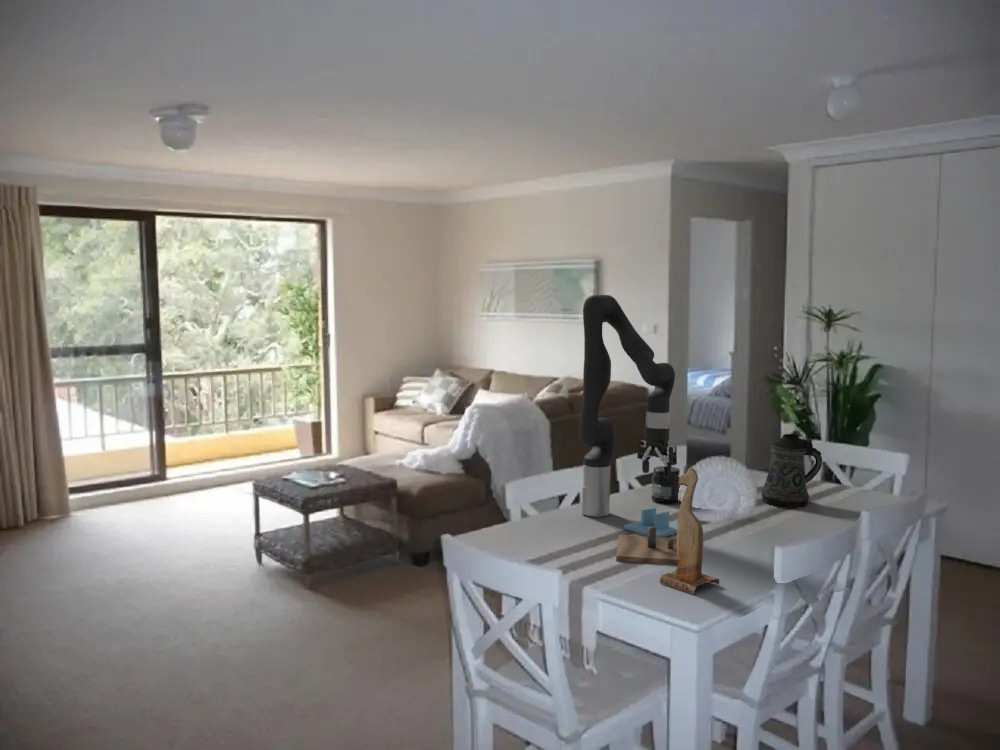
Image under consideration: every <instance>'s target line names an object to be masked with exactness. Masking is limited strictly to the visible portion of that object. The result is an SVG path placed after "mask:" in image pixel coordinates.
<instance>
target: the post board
mask: <svg viewBox="0 0 1000 750" xmlns="http://www.w3.org/2000/svg"><path fill="white" fill-rule="evenodd" d="M617 540H618V541H617V547H616V555H615V557H616V558H615V561H616V562H629V563H646V564H657V565H659V564H660V565H673V566H674V565H675V566H678V564H679V559H678V556H677V537H676V538H675V537H663V538H661V537H656V527H654V526H649V527H648V536H645V535H644V536H643V535H642V536H641V535H624V534H623V535H622V534H619V535H618V539H617Z"/></svg>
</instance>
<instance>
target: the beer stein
mask: <svg viewBox="0 0 1000 750" xmlns="http://www.w3.org/2000/svg"><path fill="white" fill-rule="evenodd" d="M799 436H800V435H798V434H793V433H792V434H791V433H790V434H789V433H784V434H783V435H782V437H780V439H778V440H777V441H774V442H773V443H772V444H771V445H770V451H771V458H770V462H769V467H768V472H767V476H766V480H765V482H764V485H763V488H762V489H761V497H762V499H761V500H762V502H763V504H765V505H767V504H769V505H768V506H771V505H773V506H772V507H775V506H778V507H777V508H781V507H787V508H786V509H799V508H798V507H802V508H805V507H807V506H808V503H809V499H810V495H809V492H808V488H807V486H806V484H807V483H809V482H811V481H812V480H813V479H814V478H815V476H817V475H818V473H819V472H820V470H821V468H822V465H823V457H822V452H821V451H820V450H818V449H817V448H816V447H813V446H814V445H813V443H812V442H811V441H810V440H808V439H802V438H800V437H799ZM805 456H812V457H814V459H815V463H814V465H813V467H812V468H811V469H810V470H809V471H808V472H807V473H806V471H805V469H806V468H805V459H804V458H805ZM806 505H807V506H806ZM804 506H805V507H804Z"/></svg>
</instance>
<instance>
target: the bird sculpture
mask: <svg viewBox="0 0 1000 750" xmlns="http://www.w3.org/2000/svg"><path fill="white" fill-rule="evenodd" d="M679 476H680V478H679V485H681V486H685V487H686V489H685V491H684V494H683V496H682V500H681V503H680V506H679V511H678V515H677V525H678V527H677V533H676V538H677V556H678V559H679V564H678V565H676V569H675V570H673V571H672V572H668V573H665V574H661V576H660V578H659V584H660V585H663V586H666V587H670V588H672V589H675V590H678V591H681V592H684V593H686V594H689V595H694V594H695V591H696V589H697V588H698V586H701V585H703V584H706V583H710V584H713V583H714V584H715V585H718V586H720V579H719V578H717V577H715V576H711V575H708V574H704V573H702V571H703V570H702V569H703V568H702V567H703V555H704V554H703V553H704V550H703V549H704V530H703V525H702V523H701V522H700V520H699V518H698V517H697V516H696V515H695V513H694V512H693V499H694V493H695V490H696V487H697V483H698V482H699V477H698V473H697V471H696V470H695V469H694V468H693V467H689V468H688V470H687V472H686V473H683V474H682V475H679Z"/></svg>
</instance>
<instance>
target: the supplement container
mask: <svg viewBox="0 0 1000 750" xmlns="http://www.w3.org/2000/svg"><path fill="white" fill-rule="evenodd" d="M664 466H665V465H662V466H656V467H653V470H652V471H653V472H652V473H653V475H652V477H651V500H652V501H653V502H654V503H657V504H663V505H672V504H678V503H679V502H680V501H678V493H679V488H680V485H679V478H680V476H681V469H680V468H679V467H675V466H671V475H670V477H669V478H664Z"/></svg>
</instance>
